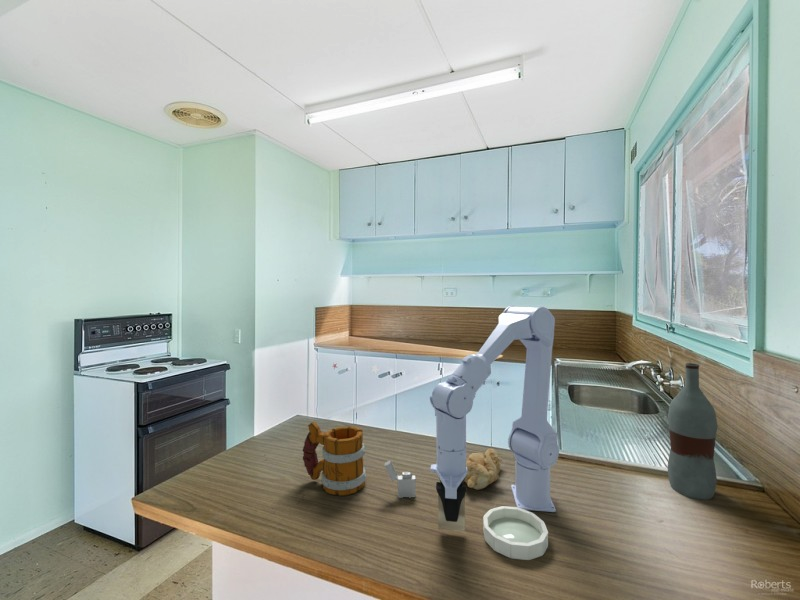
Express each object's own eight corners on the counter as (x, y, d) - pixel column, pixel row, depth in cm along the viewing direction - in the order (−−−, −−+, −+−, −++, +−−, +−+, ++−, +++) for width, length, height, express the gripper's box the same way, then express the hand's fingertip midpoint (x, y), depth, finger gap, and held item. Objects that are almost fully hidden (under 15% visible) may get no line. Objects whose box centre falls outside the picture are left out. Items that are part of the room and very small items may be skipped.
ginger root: (448, 492, 83) (448, 454, 84) (442, 474, 98) (442, 443, 100) (517, 495, 82) (515, 458, 84) (500, 477, 98) (499, 446, 99)
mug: (359, 499, 82) (358, 434, 82) (293, 491, 86) (292, 429, 85) (372, 475, 93) (371, 418, 93) (313, 470, 96) (312, 414, 96)
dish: (481, 515, 76) (481, 504, 76) (539, 520, 74) (539, 509, 74) (486, 555, 64) (486, 542, 64) (554, 562, 63) (554, 548, 63)
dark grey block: (439, 519, 72) (438, 484, 72) (464, 521, 71) (464, 486, 71) (438, 528, 69) (438, 492, 69) (464, 531, 68) (464, 494, 68)
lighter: (415, 493, 85) (415, 459, 85) (415, 497, 83) (415, 463, 83) (385, 493, 85) (384, 460, 84) (384, 497, 83) (384, 463, 83)
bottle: (715, 506, 79) (716, 370, 78) (664, 490, 85) (665, 364, 84) (717, 489, 85) (719, 363, 85) (670, 475, 92) (671, 358, 91)
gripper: (432, 430, 78) (433, 492, 78) (427, 461, 63) (428, 537, 63) (466, 431, 76) (466, 494, 77) (468, 464, 62) (468, 541, 62)
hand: (451, 514), depth 70 cm, fingers closed on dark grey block, 3 cm apart
